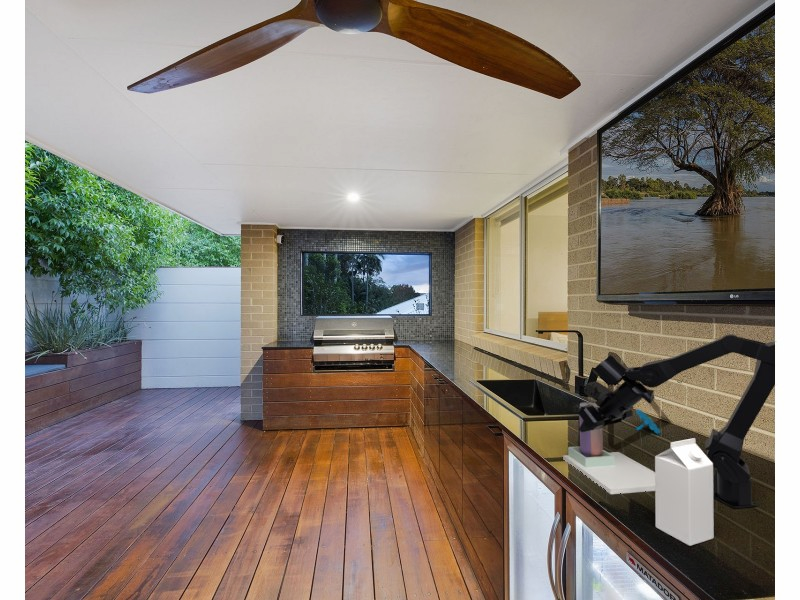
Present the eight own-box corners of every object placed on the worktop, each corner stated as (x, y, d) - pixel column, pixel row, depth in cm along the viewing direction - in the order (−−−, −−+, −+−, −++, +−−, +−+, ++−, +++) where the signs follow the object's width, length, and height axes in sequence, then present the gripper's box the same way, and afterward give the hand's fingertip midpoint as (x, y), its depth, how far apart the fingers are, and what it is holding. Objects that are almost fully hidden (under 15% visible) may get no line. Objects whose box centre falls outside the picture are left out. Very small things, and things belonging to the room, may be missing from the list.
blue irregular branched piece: (660, 433, 140) (636, 409, 145) (645, 443, 142) (623, 419, 147) (664, 429, 148) (642, 407, 154) (650, 439, 151) (629, 416, 156)
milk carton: (655, 527, 86) (654, 437, 86) (678, 521, 88) (678, 433, 88) (689, 546, 79) (688, 448, 79) (714, 539, 82) (713, 443, 82)
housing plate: (676, 489, 103) (676, 474, 103) (610, 494, 100) (610, 479, 100) (618, 455, 125) (618, 443, 125) (563, 459, 122) (563, 447, 122)
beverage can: (579, 458, 117) (578, 406, 117) (581, 451, 122) (579, 401, 123) (602, 461, 114) (601, 408, 114) (603, 454, 120) (602, 403, 120)
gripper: (621, 370, 120) (587, 400, 130) (583, 377, 110) (549, 410, 119) (650, 402, 114) (612, 432, 123) (612, 413, 104) (574, 444, 113)
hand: (586, 428), depth 120 cm, fingers closed on beverage can, 6 cm apart
